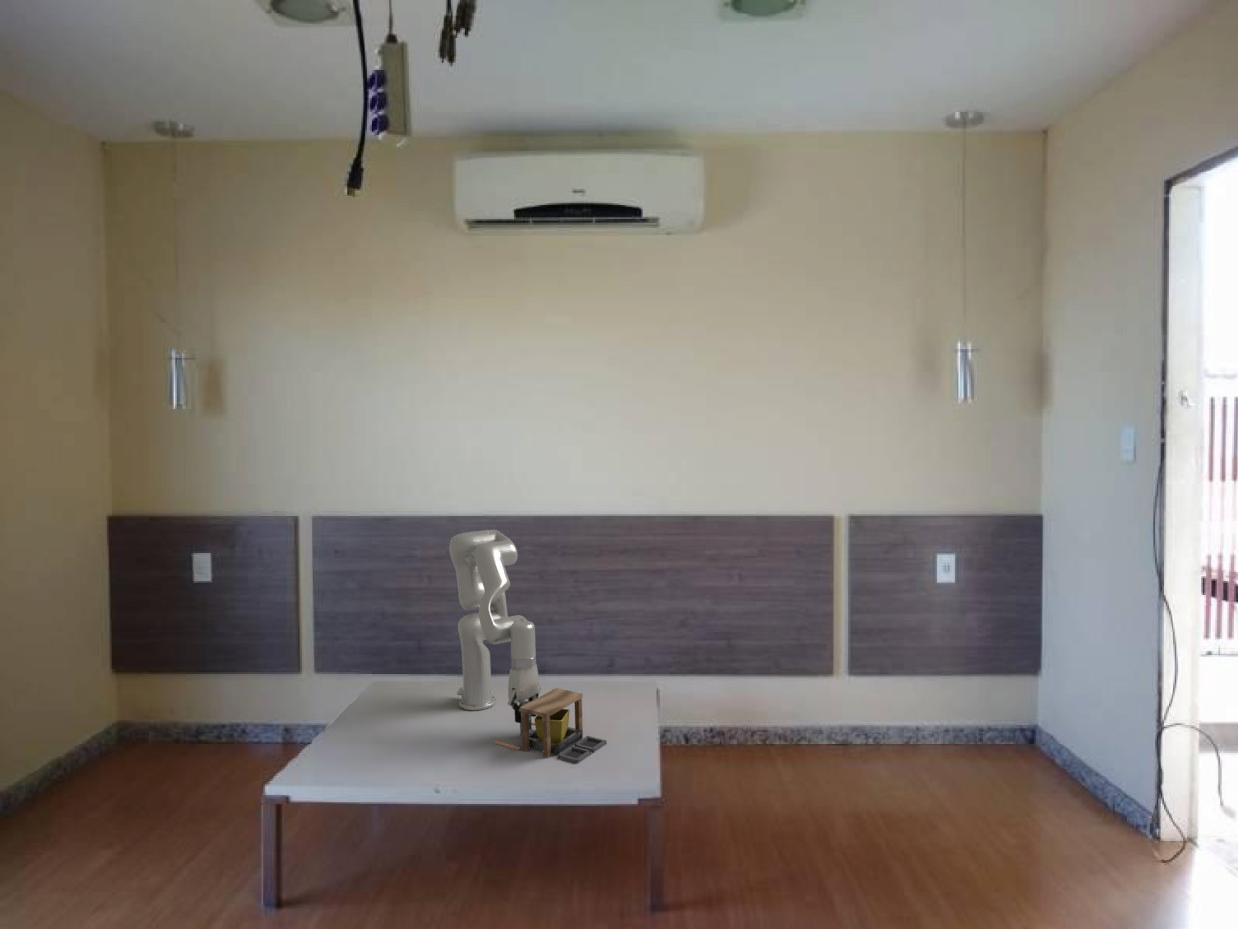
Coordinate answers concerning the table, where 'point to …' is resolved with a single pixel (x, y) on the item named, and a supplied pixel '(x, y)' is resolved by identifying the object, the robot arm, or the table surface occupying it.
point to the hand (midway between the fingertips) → (525, 718)
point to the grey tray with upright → (535, 743)
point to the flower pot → (554, 726)
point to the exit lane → (509, 744)
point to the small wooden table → (549, 714)
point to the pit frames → (582, 749)
